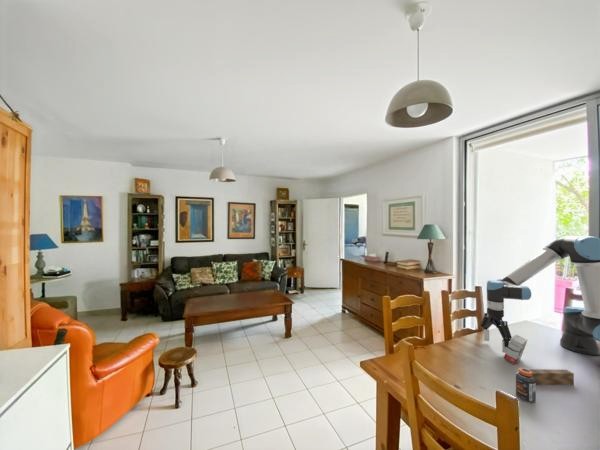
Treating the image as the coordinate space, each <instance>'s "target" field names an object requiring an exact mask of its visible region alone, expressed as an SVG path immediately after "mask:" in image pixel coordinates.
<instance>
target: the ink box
mask: <svg viewBox="0 0 600 450" xmlns="http://www.w3.org/2000/svg"><path fill="white" fill-rule="evenodd" d="M511 337H512V338H511V339H510V338H509V339H510V341H509V345H508V347H507V350H506V353H504V356H503V358H504V359H505V360H507V361H509V362H510V363H512V364H514V365H515V364H517V363H518V362H519V361H521V359H522V356H523V354H524V351H525V349H526V346H527V343H528V339H526V338H524V337H522V336H520V335H519V334H516V333H515V335H513V336H511Z"/></svg>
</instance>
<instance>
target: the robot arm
mask: <svg viewBox="0 0 600 450" xmlns="http://www.w3.org/2000/svg"><path fill="white" fill-rule="evenodd" d="M568 257H569V259H570V263H571V264H573V265H575V268H576V269H575V270H576V273H577V278H578V284H579V287H580V293H581V298H582V303H583V306H584V307H580V306H565V307H564V309H563V326H564V327H563V328H564V329H563V333H562V335H561V338H560V340H559V344H560V346H561V347H563V348H564V349H567V350H569V351H572V352H576V353H579V354H584V355H589V356H600V347H599V344H598V342H600V237H597V236H591V235H564V236H561V237H559V238H556V239H555V240H553V241H552V242H550V243H549V244H547V245H545V246H544V247H543V248H542V251H540V252H539V253H538V254H536V255H535V256H534V257H532V258H531V259H528V261H526V262H525V263H524V264H522V265H521V266H519V267H518V268H517V269H515V270H513V271H512V272H511V273H509V274H508V275H506V276H505V277H503V278H502V279H501V278H499V279H496V280H495V279H490V280H489V279H488V280H487V282H486V288H485V289H486V312H484V314H483V318H482V319H481V323H480V327H481V328H482V330H483V341H485V342H486V341H487V342H490V328H491V326H492V325H493V326H495V327H496V328H497V329H498V331H499V332H498V333H500V335H501V337H502V340H501V341H502V342H501V345H502V346H501V350H502V351H501V352H502V353H504V354H505V353H506V350H507V347H508V345H509V342H510V339H511V338H512V337H513V336H512V334H511V332H510V329H509V325H508V323H509V322H508V321H507V320H503V318H504V317H505V311H504V309H505V300H508V299H509V300H521V301H529V300H530V299H531V298H532V290H531V289H530V287H528V286H527V285H523V284H524V283H526V282H527V281H528V280H530V279H531V278H533V277H534V276H536V275H537V274H539V273H541V272H542V271H543V270H544V269H546V268H548V267H549V266H550V265H552V264H554V263H555V262H557V261H559V262H560V261H563V259H565V258H568Z"/></svg>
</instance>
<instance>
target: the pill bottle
mask: <svg viewBox="0 0 600 450" xmlns="http://www.w3.org/2000/svg"><path fill="white" fill-rule="evenodd" d="M536 386H537V385H536V380H535V378H534V377H533V376H532V372H531V371H530V370H528V368H526V367H519V368H518V372H516V373H515V396H516V397H517V398H518V399H519V400H522V401H523V402H526V403H529V404H534V403H536V401H537V399H536V397H537V395H536V393H537V391H536V390H537V389H536Z"/></svg>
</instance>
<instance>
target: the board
mask: <svg viewBox="0 0 600 450" xmlns="http://www.w3.org/2000/svg"><path fill="white" fill-rule="evenodd" d="M527 369H528V368H527ZM528 370H530V371H531V372H532V376H533V377H534V378H535V380H536V386H575V373H574V372H572V371H570V370H568V369H554V368H553V369H543V368H542V369H537V368H536V369H533V368H532V369H531V368H529V369H528Z"/></svg>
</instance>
